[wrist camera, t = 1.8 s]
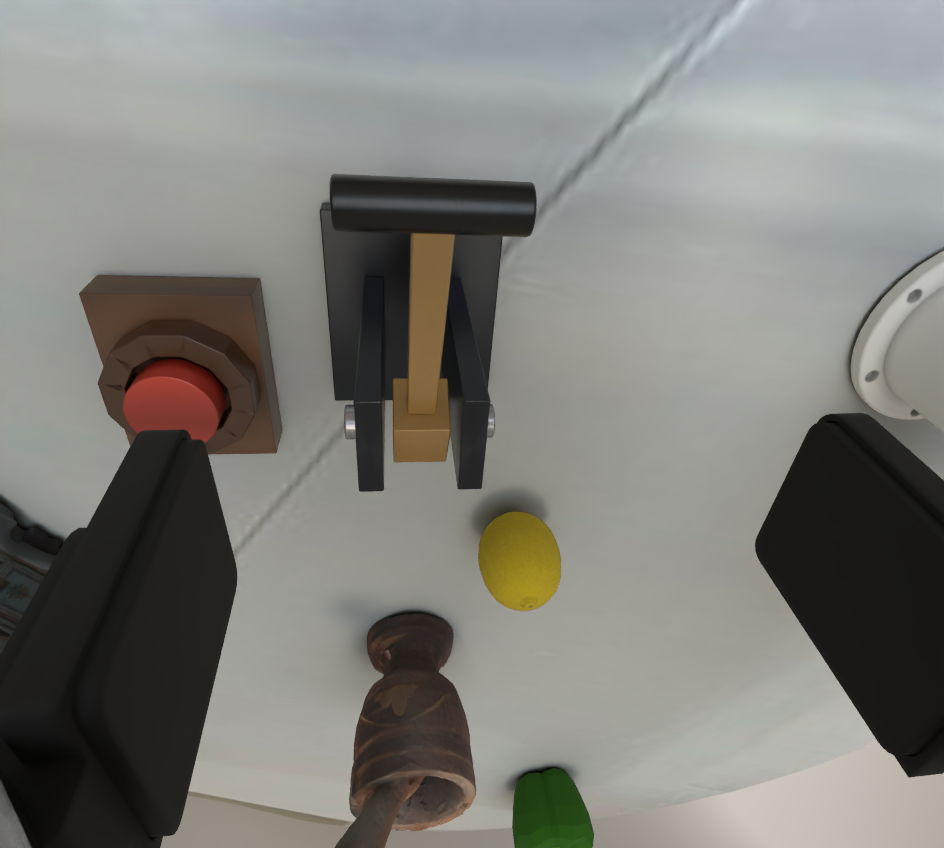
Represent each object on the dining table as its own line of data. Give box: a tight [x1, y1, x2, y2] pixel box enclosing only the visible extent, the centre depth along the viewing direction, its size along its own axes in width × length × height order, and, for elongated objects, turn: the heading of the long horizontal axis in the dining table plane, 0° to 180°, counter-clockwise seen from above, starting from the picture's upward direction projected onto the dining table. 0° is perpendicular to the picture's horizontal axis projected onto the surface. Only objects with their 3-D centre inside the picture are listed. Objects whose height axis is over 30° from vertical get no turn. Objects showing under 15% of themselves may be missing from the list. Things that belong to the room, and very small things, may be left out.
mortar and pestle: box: [335, 614, 476, 848], centre depth 42 cm, size 12×9×20 cm
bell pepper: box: [512, 768, 594, 848], centre depth 66 cm, size 8×8×10 cm
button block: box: [79, 275, 282, 454], centre depth 32 cm, size 10×8×4 cm
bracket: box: [320, 203, 502, 492], centre depth 28 cm, size 11×9×13 cm
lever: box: [330, 174, 537, 462], centre depth 20 cm, size 13×5×2 cm, turn 176°
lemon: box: [478, 512, 561, 611], centre depth 41 cm, size 6×6×8 cm
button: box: [123, 359, 226, 443], centre depth 30 cm, size 4×4×2 cm
